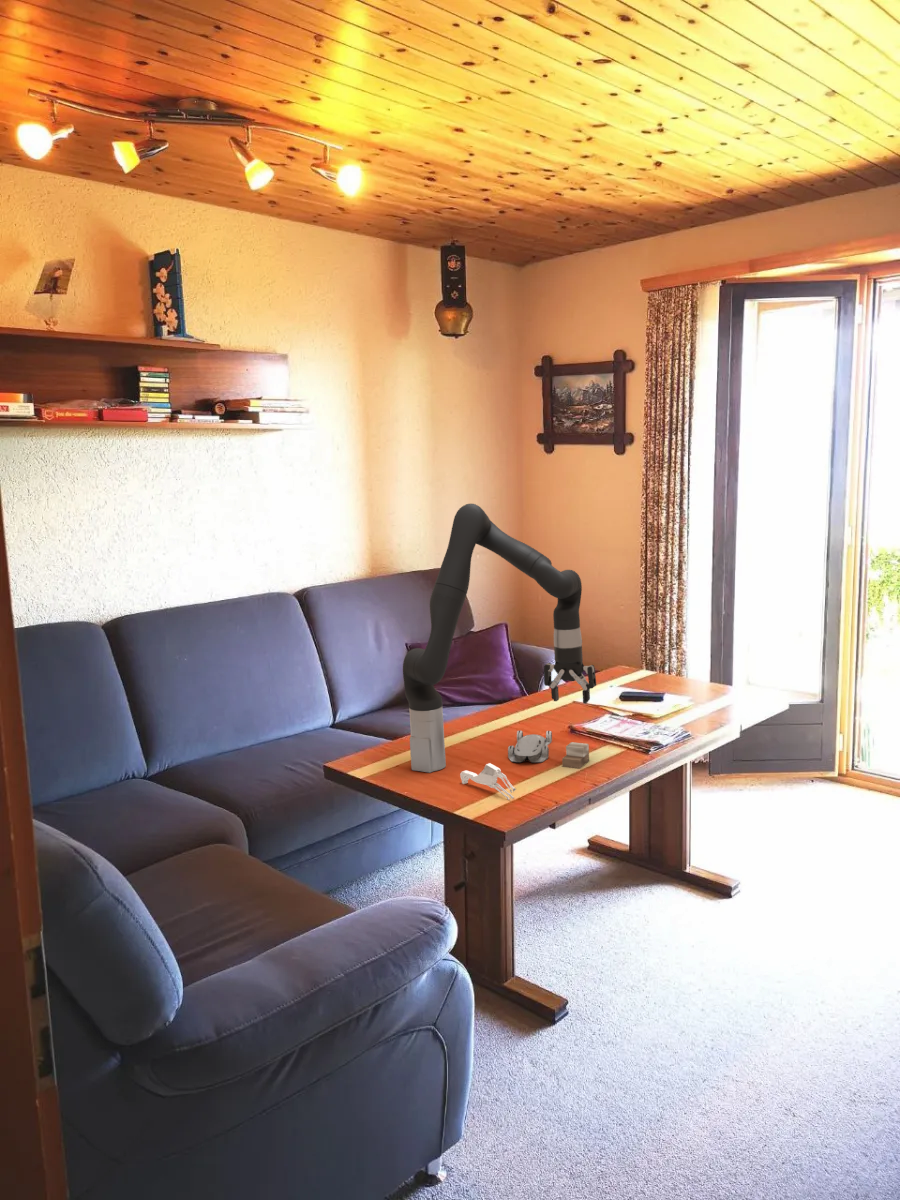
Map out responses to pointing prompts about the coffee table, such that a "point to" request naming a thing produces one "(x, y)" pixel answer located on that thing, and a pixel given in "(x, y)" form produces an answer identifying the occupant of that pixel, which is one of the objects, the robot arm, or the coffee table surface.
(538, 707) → the coffee table surface
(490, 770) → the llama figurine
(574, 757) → the chock
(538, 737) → the car model
